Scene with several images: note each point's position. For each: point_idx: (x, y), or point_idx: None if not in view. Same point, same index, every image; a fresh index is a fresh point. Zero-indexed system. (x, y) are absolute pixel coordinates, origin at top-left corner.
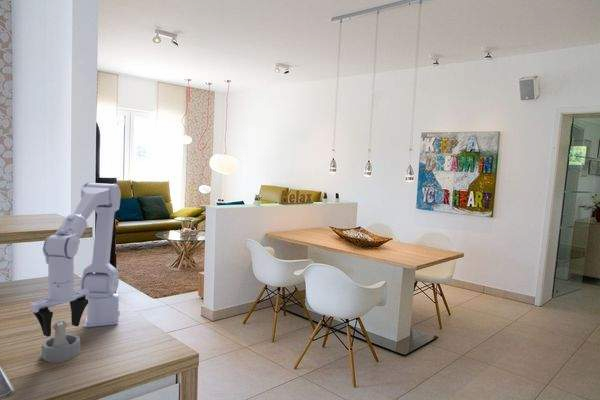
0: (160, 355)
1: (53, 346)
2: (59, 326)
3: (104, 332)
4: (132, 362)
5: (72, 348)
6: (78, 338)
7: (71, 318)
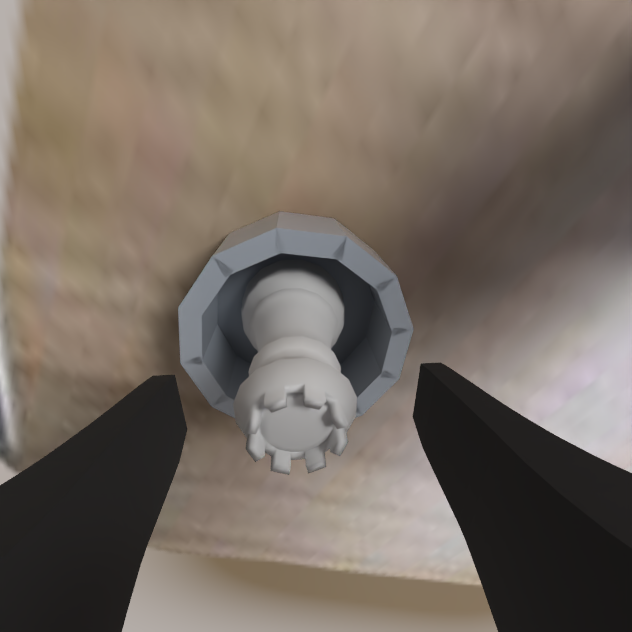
0: None
1: (248, 326)
2: (269, 452)
3: (609, 243)
4: (409, 537)
5: None
6: (382, 384)
7: (450, 390)
